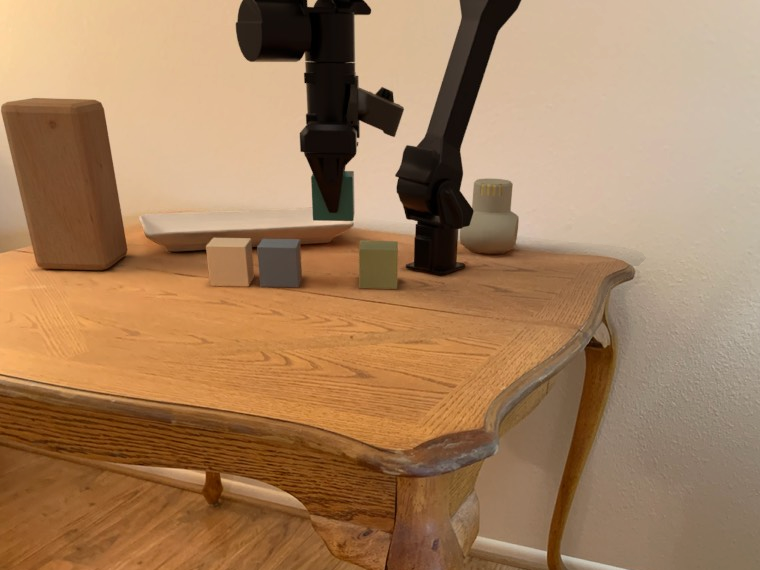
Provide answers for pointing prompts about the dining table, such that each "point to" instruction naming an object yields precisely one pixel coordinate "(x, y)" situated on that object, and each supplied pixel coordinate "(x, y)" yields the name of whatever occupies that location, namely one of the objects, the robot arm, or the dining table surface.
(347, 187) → the teal block
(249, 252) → the cream block
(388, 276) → the sage block
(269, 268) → the slate block
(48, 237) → the wooden block
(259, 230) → the tray
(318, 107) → the robot arm
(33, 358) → the dining table surface
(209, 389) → the dining table surface
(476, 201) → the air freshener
